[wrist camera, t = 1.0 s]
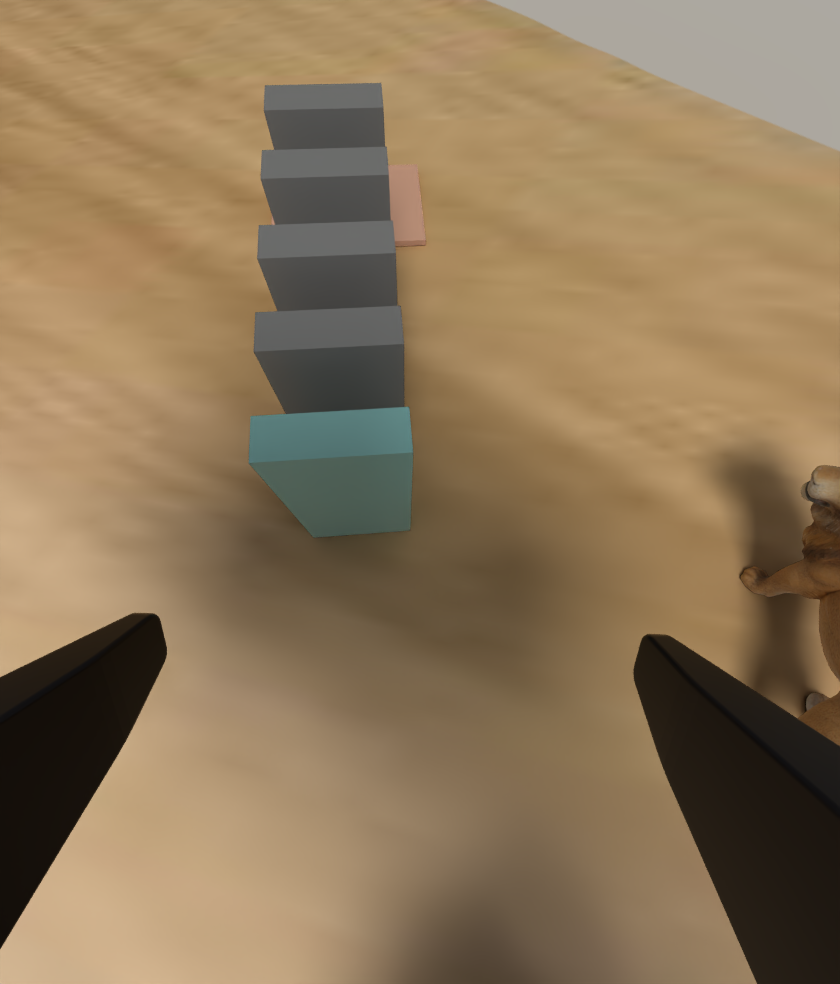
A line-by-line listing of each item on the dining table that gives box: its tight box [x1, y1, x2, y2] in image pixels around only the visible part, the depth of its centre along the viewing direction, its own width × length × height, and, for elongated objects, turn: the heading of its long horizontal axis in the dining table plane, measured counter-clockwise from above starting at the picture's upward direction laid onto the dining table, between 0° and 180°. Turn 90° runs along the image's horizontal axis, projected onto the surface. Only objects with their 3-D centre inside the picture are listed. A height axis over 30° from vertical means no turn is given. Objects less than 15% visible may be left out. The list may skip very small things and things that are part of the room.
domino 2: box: [261, 147, 391, 225], centre depth 22 cm, size 2×5×10 cm, turn 95°
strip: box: [272, 164, 426, 246], centre depth 30 cm, size 7×10×1 cm
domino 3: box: [257, 220, 397, 311], centre depth 21 cm, size 2×5×10 cm, turn 95°
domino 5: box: [249, 407, 413, 538], centre depth 19 cm, size 2×5×10 cm, turn 95°
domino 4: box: [254, 306, 404, 414], centre depth 20 cm, size 2×5×10 cm, turn 95°
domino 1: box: [264, 83, 385, 150], centre depth 24 cm, size 2×5×10 cm, turn 95°
